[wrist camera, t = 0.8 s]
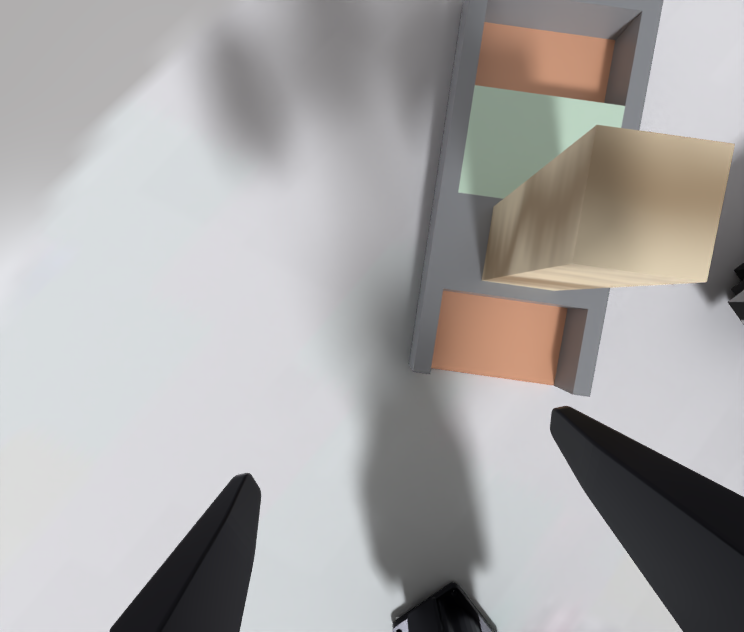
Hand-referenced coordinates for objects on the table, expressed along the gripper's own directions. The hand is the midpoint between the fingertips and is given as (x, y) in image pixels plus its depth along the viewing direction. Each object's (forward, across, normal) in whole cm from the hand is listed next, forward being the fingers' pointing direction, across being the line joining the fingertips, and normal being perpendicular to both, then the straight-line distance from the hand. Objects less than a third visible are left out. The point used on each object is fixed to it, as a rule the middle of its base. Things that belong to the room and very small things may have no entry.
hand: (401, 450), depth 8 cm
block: (+13, -11, -1) cm, 17 cm away
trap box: (+17, -12, -3) cm, 21 cm away
